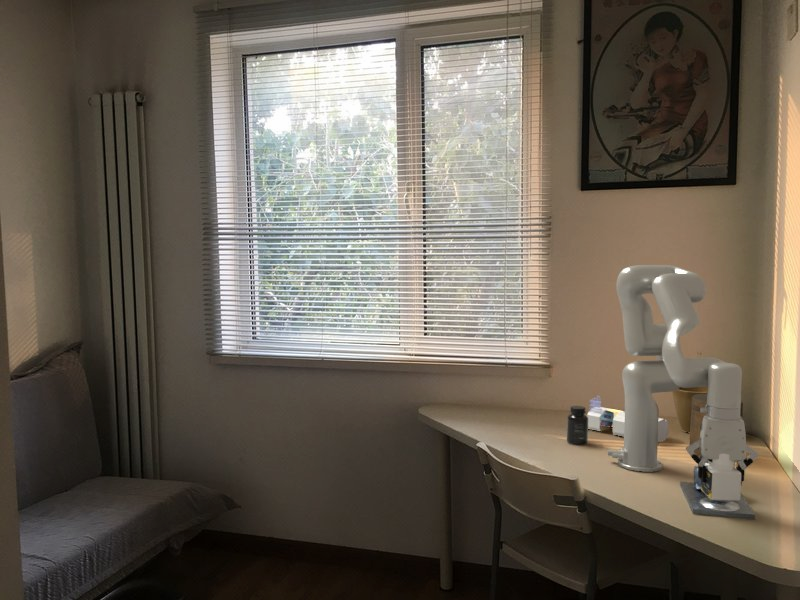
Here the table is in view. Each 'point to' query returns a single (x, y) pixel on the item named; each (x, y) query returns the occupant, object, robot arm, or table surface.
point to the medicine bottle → (722, 479)
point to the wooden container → (700, 418)
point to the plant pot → (686, 404)
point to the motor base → (713, 502)
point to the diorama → (616, 420)
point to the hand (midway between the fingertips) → (720, 481)
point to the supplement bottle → (577, 426)
